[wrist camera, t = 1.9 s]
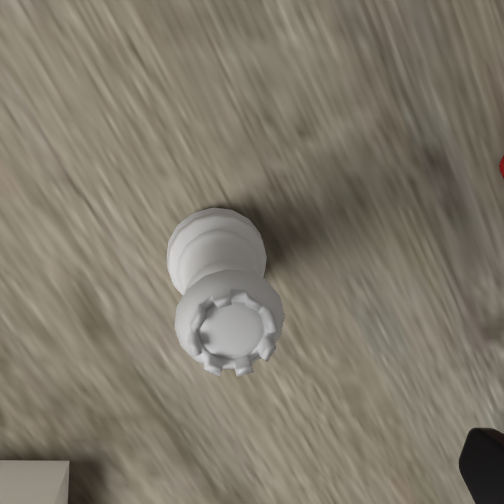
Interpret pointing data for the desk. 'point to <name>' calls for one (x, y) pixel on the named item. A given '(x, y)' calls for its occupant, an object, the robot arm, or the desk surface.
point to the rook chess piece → (223, 291)
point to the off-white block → (34, 482)
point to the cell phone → (502, 166)
